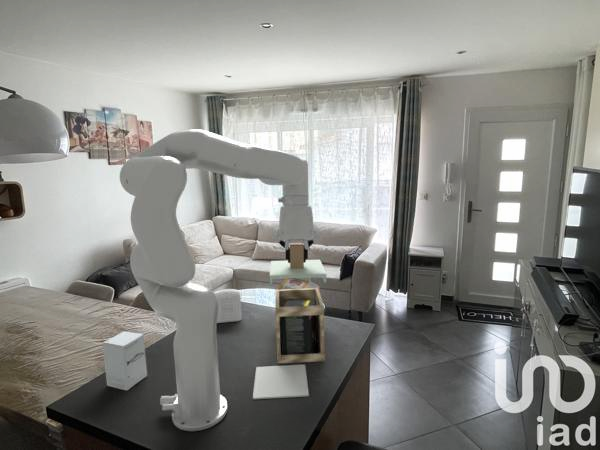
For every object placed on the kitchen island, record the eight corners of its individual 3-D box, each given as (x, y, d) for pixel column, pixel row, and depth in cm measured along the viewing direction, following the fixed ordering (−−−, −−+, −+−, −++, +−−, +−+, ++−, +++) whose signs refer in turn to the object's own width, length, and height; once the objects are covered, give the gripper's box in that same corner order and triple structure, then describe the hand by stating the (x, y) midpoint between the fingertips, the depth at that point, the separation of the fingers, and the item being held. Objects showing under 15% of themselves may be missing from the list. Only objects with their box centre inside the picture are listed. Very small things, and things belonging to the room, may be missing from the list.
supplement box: (127, 391, 94) (122, 346, 92) (106, 386, 96) (101, 342, 94) (148, 376, 100) (144, 333, 98) (128, 371, 103) (123, 330, 101)
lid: (269, 284, 101) (268, 250, 99) (271, 268, 117) (270, 239, 116) (326, 282, 101) (326, 249, 100) (320, 267, 118) (319, 238, 116)
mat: (252, 399, 89) (252, 397, 89) (256, 368, 103) (256, 367, 103) (308, 396, 90) (308, 394, 90) (305, 365, 104) (305, 364, 104)
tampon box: (311, 359, 107) (310, 312, 105) (281, 356, 109) (279, 311, 107) (316, 341, 118) (316, 299, 116) (289, 339, 120) (288, 297, 117)
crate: (277, 363, 105) (275, 308, 103) (277, 337, 121) (276, 289, 118) (324, 361, 106) (324, 306, 103) (319, 336, 122) (318, 288, 119)
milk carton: (320, 324, 131) (319, 274, 128) (301, 334, 123) (300, 281, 120) (298, 316, 138) (297, 269, 135) (279, 326, 130) (277, 275, 127)
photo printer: (241, 317, 139) (239, 286, 137) (242, 321, 135) (240, 290, 133) (214, 319, 137) (212, 288, 135) (213, 324, 133) (211, 292, 131)
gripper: (266, 203, 102) (268, 265, 105) (325, 201, 103) (325, 264, 105) (267, 200, 109) (269, 259, 112) (322, 199, 110) (322, 258, 113)
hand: (296, 261), depth 109 cm, fingers closed on lid, 4 cm apart
